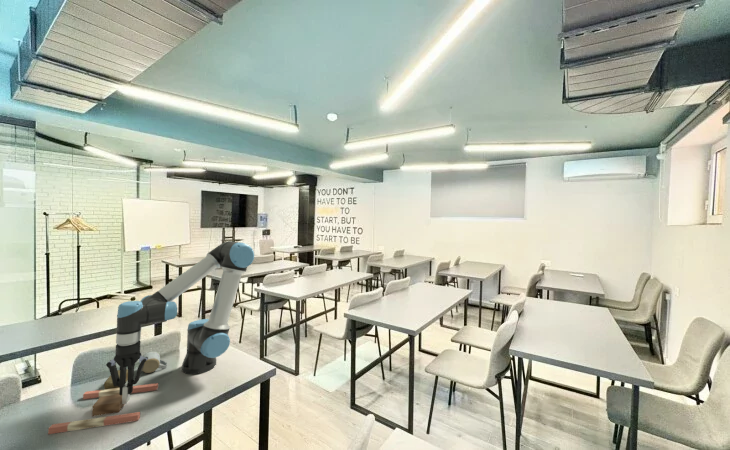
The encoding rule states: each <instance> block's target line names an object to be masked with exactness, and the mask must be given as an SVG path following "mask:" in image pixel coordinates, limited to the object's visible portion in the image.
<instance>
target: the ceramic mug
mask: <svg viewBox="0 0 730 450" xmlns="http://www.w3.org/2000/svg"><path fill="white" fill-rule="evenodd" d="M142 356H143V357H148V359H147V360H146V362H145V363H144V366H143V369H142V373H146V374H151V373H153V372H156V371H157V370H158V369H166V368H167V366H168V362H167V361H165V360H162V359H161V355H160V354H159V352H157V351H148V352H146V353H144V354H143V355H142Z"/></svg>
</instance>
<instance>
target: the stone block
mask: <svg viewBox="0 0 730 450" xmlns="http://www.w3.org/2000/svg"><path fill="white" fill-rule="evenodd" d="M117 371H118V375H119V378H120V370H119V369H117ZM126 383H128V368H126ZM103 388H104V389H112V388H120V387H118V386H116V387H114V385H113V382H112V378H111V374H110V375H109V376H108V377H107V379H106V380H105V381H104V384H103ZM104 389H103V390H104Z"/></svg>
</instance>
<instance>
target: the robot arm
mask: <svg viewBox="0 0 730 450" xmlns="http://www.w3.org/2000/svg"><path fill="white" fill-rule="evenodd" d="M254 259H255V252H254V250H253V248H252V246H250V245H249V244H248V243H245V242H240V241H233V240H232V241H231V240H229V241H225V242H222V243H221V244H219V245H218V246H216V247H215V248H213V249H211V250H210V251H208V252H207V254H206V256H205V257H204V258H202V259H201V260H199V261H198V262H197V263H196V264H194V265H193V266H191V267H190V268H188V269H186V270H185V271H184V272H183V273H181V274H180V275H179V276H177V277H175V278H174V279H173V280H171V281H170V282H168V283H167V284H166V285H164V286H163V287H161V288H160V289H159V290H157V291H155V292H154V293H153V294H150V295H146V296H144V297H142V298H141V300H140V301H139V300H134V301H133V300H129V301H124V302H121V303H120V304H119V305H118V307H117V314H116V334H115V335H116V336H115V337H116V338H115V344H116V345H115V356H114V357H113V359H110V360H109V361H107V363H105V366H106V367H107V368H108V370H109V373H110V375H111V378H112V382H113V385H114V387H116V386H118V387H120V392H119V394H120V395H122V405H123V404H125V405H127V404H128V403H129V401H130V400H131V399H130V395H131V394H133V393H132V391H133V386H134V385H137V383H138V382H139V381H140V378H141V375H142V373H143V371H142V369H143V366H144V363H145V362H146V360H147V359H148V357H143V355H142V352H141V337H142V336H141V335H142V325H148V324H149V325H150V324H155V323H159V322H167V321H170V320H173V319H175V318H176V317H177V315H178V305H177V303H176V302H175V301H174V300H175V299H177V298H178V297H179V296H181V295H182V294H183V293H185V292H187V291H188V290H189V289H190V288H192V287H193V286H194V285H196V284H197V283H199V282H200V281H201V280H202V279H204V278H205V277H207V275H210V273H212V272H213V271H215V270H216V269H220V268H221V269H222V274H221V278H220V280H219V285H218V288H217V292H216V294H215V297H214V300H213V303H212V308H211V311H210V314H209V316H208V318H203V319H197V320H193V321H191V322H189V323H188V325H187V329H186V331H187V336H186V338H187V340H186V354H185V356H184V359H183V362H182V364H181V372H183V373H185V374H191V375H196V374H202V373H206V372H208V371H210V370H212V369H214V368H215V367H216V366H217V358H218V357H220V356H222V355H223V354H225V353H226V352H227V350H228V348H229V347H230V344H231V338H230V336H229V332H230V329H231V327H230V325H229V321H230V317H231V313H232V309H233V306H234V302H235V299H236V295H237V292H238V290H239V289H238V288H239V285H240V282H241V278H242V275H243V274H244V273H247V269H248V267H249V266H250V265H251V264H252V263H253V262H254ZM137 362H139V363H138V366H137V369H136V373H135V365H136V363H137ZM215 365H216V366H215ZM117 366H119V369H118V367H117ZM214 366H215V367H214ZM126 369H128V380H127V382H126ZM117 370H120V378H119V375H118V371H117Z"/></svg>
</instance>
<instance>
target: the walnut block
mask: <svg viewBox="0 0 730 450" xmlns="http://www.w3.org/2000/svg"><path fill="white" fill-rule="evenodd" d="M125 405H126V404H123V405H122V395H120V394H117V395H109V396H102V397H98V399H97V400H96V401H95V403H94V404H93V405H92V409H91V410H92V411H91V412H92V413H91V417H98V416H105V415H111V414H112V415H113V414H118V413H120V411H122V409H123V408H124V406H125Z"/></svg>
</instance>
